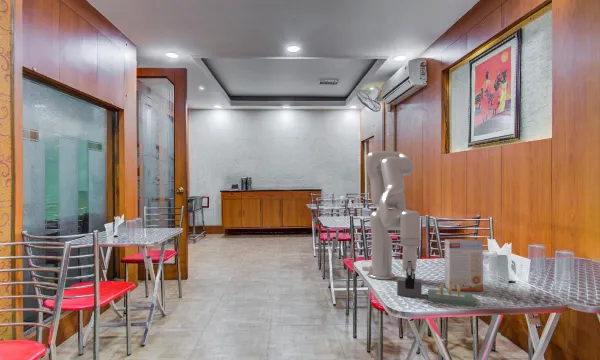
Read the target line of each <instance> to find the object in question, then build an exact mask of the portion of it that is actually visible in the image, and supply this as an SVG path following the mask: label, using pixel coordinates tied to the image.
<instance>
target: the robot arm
mask: <svg viewBox="0 0 600 360" xmlns="http://www.w3.org/2000/svg"><path fill="white" fill-rule="evenodd" d="M365 167H366V168H365V169H366V172H367V175H368V178H369V183H370V195H371V196H370V197H371V199H370V200H371V202H372V205H373V206H374V207H375V208H378V209H377V210H374V211H372V212H371V213H370V216H369V224H370V232H371V265H369V266H365V265H364V266H363V265H362V271H364V272H367V276H368V277H369V278H371V279H376V280H392V279H395V278H396V274H394V273H393V272H392V271H393V238H392V237H391V235H390V234H389V232H388V231H399V234H400V235H399V240H400V242H399V244H400V247H402V266H401V267H402V272H403V273H405V277H404V278H405V288H406V289H414V279H416V273H415V272H416V270H417V262H418V259H417V258H418V250H417V249H418V247H421V217H420V216H421V215H420V212H418V211H417V210H415V211H414V210H410V209H407V205H406V204H407V203H406V196H405V193H404V191H405V189H406V184H405V180H404V176H411V175H412V174H413V172H414V162H413V161H412V159H411V158H410V157H409V156H408V155H407V154H404V152H403V153H402V152H401V151H389V150H388V151H387V150H375V151H370V152H368V153H367V155H366V157H365ZM391 208H392V209H391Z"/></svg>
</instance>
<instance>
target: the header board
mask: <svg viewBox="0 0 600 360" xmlns="http://www.w3.org/2000/svg"><path fill="white" fill-rule="evenodd" d="M439 288H440V289H435V288H428V289H427V294H428V296H427V301H428V302H434V303H442V304H443V303H444V304H452V305H453V304H455V305H461V306H471V307H476V301H475V299H474V296H473V294H472V292H468V291H460V285H457V291H452V284H449V290H448V289H447V290H446V289H444V283H440V287H439Z"/></svg>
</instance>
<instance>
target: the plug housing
mask: <svg viewBox="0 0 600 360" xmlns="http://www.w3.org/2000/svg"><path fill="white" fill-rule="evenodd" d="M405 278H406V277H397V280H396V282H397V283H396V284H397V285H396V291H397V292H396V293H397V294H396V295H397V296H398V297H400V296H401V297H410V298H416V297H417V298H418V299H422V285H423V284H422V283H423V282H422V279H419V278H415V279H414V289H406V288H405Z"/></svg>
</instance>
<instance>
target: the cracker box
mask: <svg viewBox="0 0 600 360" xmlns="http://www.w3.org/2000/svg"><path fill="white" fill-rule="evenodd" d="M483 243H484V242H483V240H480V239H477V238H474V239H473V238H472V239H470V238H467V239H466V238H465V239H464V238H445V239H444V287H445V289H447V291H449V284H452V291H457V285H460V292H483V291H484V258H483V257H484V255H483V253H484V248H483V247H484V244H483Z"/></svg>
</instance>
